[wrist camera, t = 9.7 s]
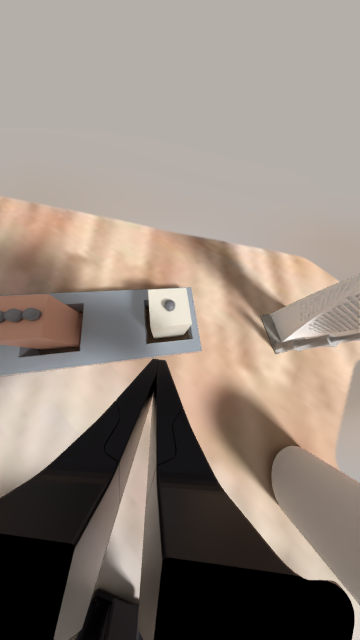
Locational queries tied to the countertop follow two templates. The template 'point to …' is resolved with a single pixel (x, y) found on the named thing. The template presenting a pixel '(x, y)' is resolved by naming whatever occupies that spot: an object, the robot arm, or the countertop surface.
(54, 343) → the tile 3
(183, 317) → the cream block
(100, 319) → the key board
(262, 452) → the countertop surface
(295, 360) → the countertop surface
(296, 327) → the skyscraper
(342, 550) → the can
